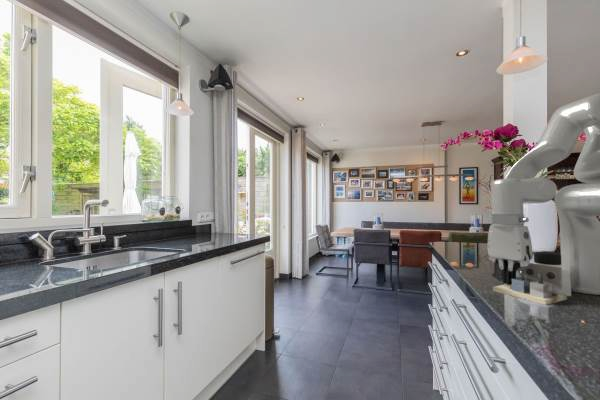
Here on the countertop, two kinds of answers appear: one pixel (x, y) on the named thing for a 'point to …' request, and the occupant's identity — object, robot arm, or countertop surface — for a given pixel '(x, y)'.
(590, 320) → the countertop surface
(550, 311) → the countertop surface
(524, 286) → the sliding pin
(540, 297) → the board
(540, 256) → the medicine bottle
